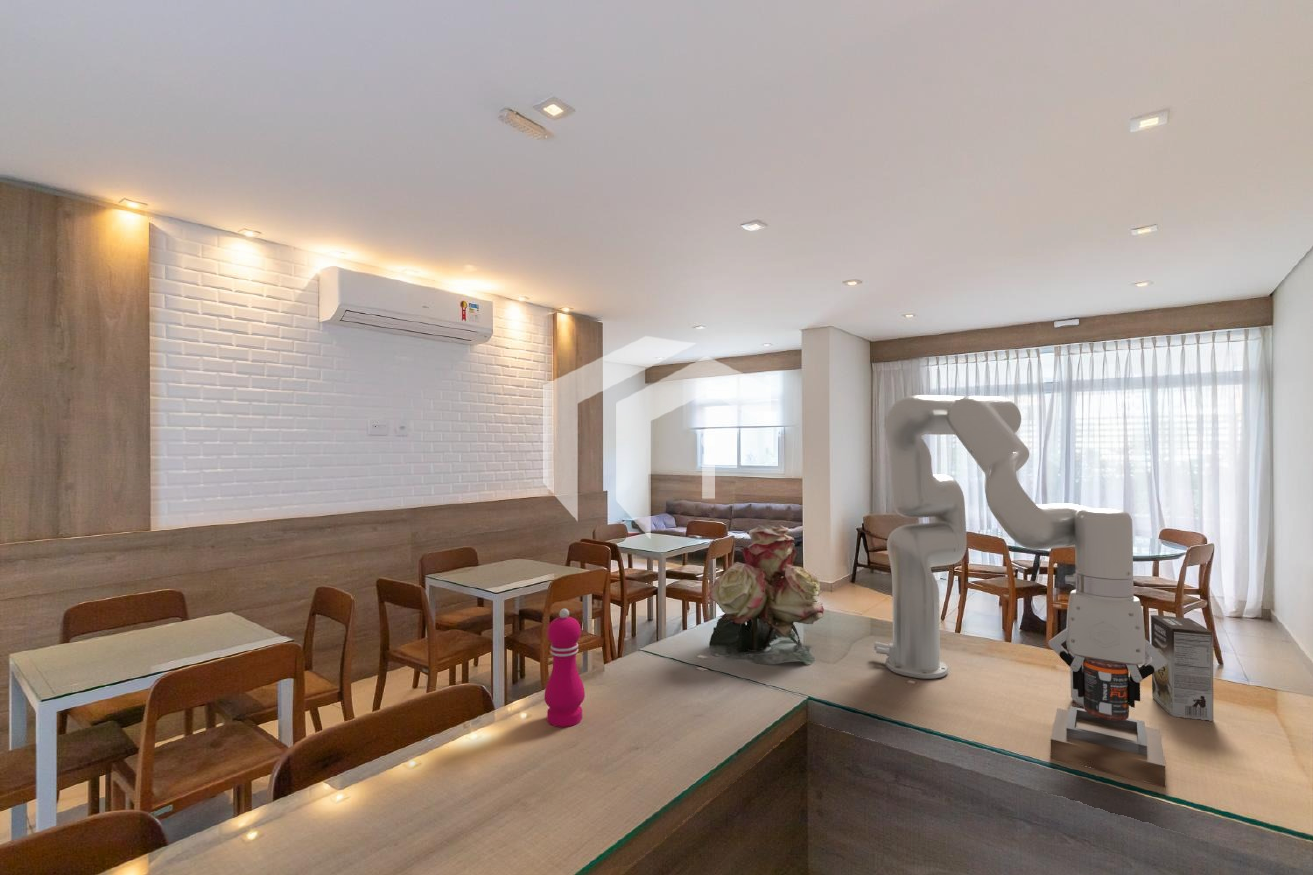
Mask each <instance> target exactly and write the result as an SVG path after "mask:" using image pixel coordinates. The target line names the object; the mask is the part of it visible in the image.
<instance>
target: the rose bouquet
mask: <svg viewBox="0 0 1313 875" xmlns="http://www.w3.org/2000/svg"><path fill="white" fill-rule="evenodd" d="M787 532H789V528H788V527H785V526H783V525H782V524H779V525H778V526H773V525H771V524H770V525H769V524H764V525H759V524H758V526H756V527H754V528H752V529H749V530H747V531H746V532H745V533H746V534H747V535H748V536H749V538H750V539H751V542H752V543H751V544H750V545H748V547H747V546H746V547H743V548H740V551H741V553H743V554H742V555H743V558H744V561H745V563H742V562H739V561H736V562H734V563H732V564H731V565H729V566H728V567H727V568H725V570H724V572H723V573H722V574H721V575H719V576H718V577H717V578H716V579H715V581H714V583H713V585H711V587H710V590H709V594H708V597H709V599H710V600H712V601H714V602H715V603H716V605H717V606H718V607H719V609H721V612H723V613H724V614H722V615H720V618H718V620H717V622H716V626H715V627H713V631H712V633H711V635H710V639H709V644H708V646H709V647H708V648H709V653H710V655H711V656H712V657H713V656H714V657H718V658H719V657H720V658H725V657H729V658H728V660H736V659H737V660H738V659H747V660H749V661H751V662H752V663H754V664H759V665H771V666H772V665H778V664H783V663H791V662H803V663H804V664H805V665H806V666H807V665H808V666H810V665H811V664H813V663H814V662H815V658H814V657H813V655H812V654H811V652H810V649H811V648H813V645H803V643H802V642H801V639H802V637H800V636H799V632H798V630H797V628H796V626H795V624H794V623H799V624H805V625H814V623H815V622H817V621H819V620H820V619H822V618H823V617H824V611H825V609H824V606H823V602H822V601H820V602H819V601H818V597H819V596H820V594H819V593H820V592H819V591H820V590H821V588H820V587H821V585H820V584H821V583H820V580H819V578H818V576H815V575H812V574H811V573H810V572H809V571H808V570H807V569H806V568H804V567H801V566H795V565H794V561H795V558H796V556H797V550H798V549H796V548H794V547H795V546H796V545H795V543H794V542H795V541H796V539H794V537H793V536H790V535H787ZM774 641H778V643H774V644H772V643H773V642H774ZM767 648H769V649H768V650H765V651H762V652H758V651H761V650H762V649H767ZM749 651H750V652H749ZM753 651H754V652H753ZM740 653H741V654H740ZM724 661H726V659H725V660H723V662H724Z"/></svg>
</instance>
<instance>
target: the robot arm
mask: <svg viewBox="0 0 1313 875" xmlns="http://www.w3.org/2000/svg"><path fill="white" fill-rule="evenodd" d="M888 410H889V411H887V414H886V418H885V421H884V422H885V424H884V428H885V430H884V431H885V437H886V441H887V447H888V452H889V459H890V464H889V465H890V482H891V484H890V486H891V488H890V489H891V500H892V506H893V509H894V511H895V512H896V514H897V515H899V516H901V517H904V518H909V519H914V518H915V519H917V518H922V519H923V518H928V523H926V522H924V523H911V524H904V525H900V526H898V527H896V528H895V529H893V530H892V531H891V532H890V533H889V535H888V538H887V541H886V550H887V555H888V560H889V564H890V570H891V587H892V588H891V589H892V590H891V592H892V594H891V595H892V642H889V643H883V642H879V641H875V642H874V645H873V648H874V649H873V650H874V651H875V652H876V654H880V655H886V656H887V658H886V659H885V666H886V667H887V668H888V670H890V671H891V672H893V673H896V674H898V675H901V676H905V677H909V678H915V679H922V680H923V679H927V680H929V679H930V680H931V679H939V678H943V677H945V676H947V674H948V672H949V667H948V665H947V664H946V663H945V662H943V661H941V643H940V642H941V637H940V636H941V634H940V631H941V630H940V628H941V627H940V626H941V625H940V624H941V623H940V621H941V620H940V587H939V584H938V581H937V580H936V577H935V575H934V574H933V572H932V570H931V569H932V568H933V567H945V566H950V565H954V564H956V563H959V562H960V561H961V560H962V559H963V558H964V556H965V555H966V553H967V552H966V551H967V544H968V543H967V542H968V540H967V539H968V538H967V522H966V521H967V520H966V504H965V496H964V492H963V490H962V487H961V486H960V483H959V482H958V481H957V480H956V479H954V478H953V477H952V476H949V475H947V474H941V473H936V474H935V473H933V468H932V467H933V466H932V455H931V451H930V449H929V447H928V445H927V444H926V442H925V440H924V439H923V437H922V436H924V435H935V436H936V435H937V436H938V435H949V436H950V435H952V436H953V435H955V436H956V437H957V439H958V440H959V441H960V443H961V444H962V446H963V447H964V448H965V450H966V451H967V452H968V453H969V454H970V456H971V457H972V458H973V459H974V461H975V462H976V464H977V465H978V467H979V468H980V469H981V471H982V472H983V473H984V475H985V478H984V493H985V499H986V503H987V506H988V508H989V510H990V512H991V514H992V515H993V516H994V518H995V519H996V520H997V522H998V523H999V525H1000V526H1001V527H1002V529H1003V530H1004V531H1005V533H1006V534H1007V535H1008V536H1009V537H1010V538H1011V539H1012V540H1013V541H1014V542H1015V543H1016V544H1018V545H1019V546H1021V547H1022V548H1024V549H1025V548H1026V549H1027V550H1033V551H1037V550H1040V551H1041V550H1049V549H1050V550H1051V549H1061V548H1063V549H1064V548H1075V549H1074V550H1075V551H1074V552H1075V553H1074V554H1075V557H1074V558H1075V563H1074V564H1075V573H1073V574H1070V575H1068V574H1067V575H1065V576H1064V582H1065V584H1070V585H1072V586H1073V587H1075V589H1073V590H1071V591H1070V594H1069V598H1068V601H1067V610H1066V628H1064V629H1063V630H1062V631H1060V632H1059V633H1058V634H1057V635H1055V636H1053V637H1052V638H1051V639H1049V640H1048V644H1047V646H1049V648H1051V650H1052V651H1053V652H1054V653H1055V654H1057V655H1058V656H1059V658H1060V659H1061V660H1062V661H1063V662H1065V664H1066V665H1067V666H1068V667H1069V668H1071V670H1072V671H1073V689H1077V690H1078V697H1083V696H1084V690H1083V669H1082V663H1083V661H1084V659H1085V658H1090V659H1096V660H1103V661H1109V662H1115V663H1121V664H1126V666H1127V668H1128V670H1129V707H1131V708H1133V709H1134V708H1136V705H1135V704H1136V702H1141V682H1143V680H1144V679H1146V678H1148V677H1149V676H1152V674H1153V673H1154V672H1155V671H1156V670H1158V669H1160V668H1162V667H1163V666H1165V665H1167V659H1166V658H1165V657H1164V656H1163V655H1162V654H1161V653H1160V652H1159V651H1158V650H1157V649H1156V648H1155V647H1154V646H1152V645H1151V643H1150V641H1148V640H1147V639H1146V631H1145V630H1146V629H1145V621H1144V612H1143V609H1142V603H1141V600H1140V598H1139V597H1137V596H1135V595H1134V593H1135V592H1134V545H1133V544H1134V541H1133V539H1134V538H1133V533H1134V532H1133V519H1132V516H1131V515H1130V514H1129V513H1128V512H1127V511H1125V510H1121V509H1115V508H1104V507H1103V508H1102V507H1087V506H1084V505H1081V504H1080V505H1079V504H1075V503H1071V502H1069V503H1067V502H1063V503H1062V502H1061V503H1043V504H1041V503H1039V504H1038V503H1037V504H1036V503H1035V502H1034V501H1033V500H1032V498H1031V497H1030V496H1029V495H1028V494H1027V492H1026V491H1025V489H1024V488H1023V487H1022V485H1021V483H1020V482H1019V479H1018V477H1017V472H1018V471H1019V470H1020V469H1021V468H1022V467H1024V466H1025V465H1026V463H1027V461H1028V460H1029V458H1030V449H1029V448H1028V447H1027V446H1026V445H1025V443H1024V442H1023V441H1022V440H1021V439H1020V437H1018V435H1017V434H1016V433H1017V432H1018V431H1019V429H1020V428H1021V424H1022V415H1021V412H1020V409H1019V407H1018V406H1017V405H1016V404H1015V402H1013V401H1011V400H1010V399H1009V398H1005V397H1002V396H990V395H989V396H985V395H983V396H982V395H969V396H961V395H936V394H935V395H934V394H933V395H932V394H914V395H909V396H905V397H902V398H900V399H898V400H897V401H896V402H894V403H893V404H892V405H891V407H890V408H889V409H888ZM1064 642H1066V649H1065V648H1064V647H1063V645H1062V644H1063V643H1064ZM1070 653H1072V654H1074V657H1073V656H1072V655H1071V654H1070ZM1146 655H1148V656H1149V657H1150V658H1151V660H1149V662H1146V663H1145V661H1146V658H1147V657H1146ZM1140 665H1141V666H1140Z"/></svg>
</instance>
